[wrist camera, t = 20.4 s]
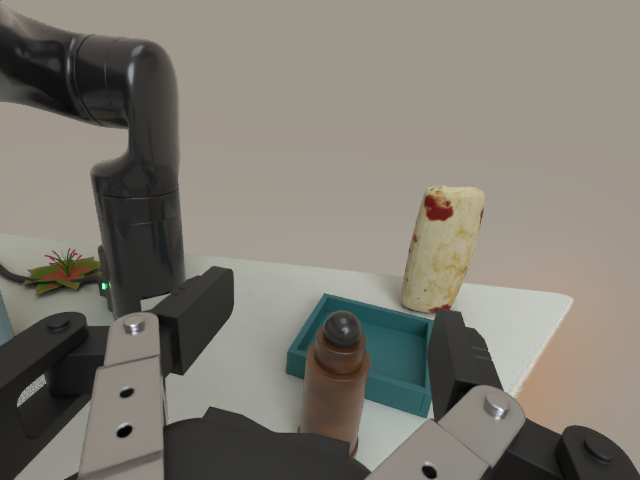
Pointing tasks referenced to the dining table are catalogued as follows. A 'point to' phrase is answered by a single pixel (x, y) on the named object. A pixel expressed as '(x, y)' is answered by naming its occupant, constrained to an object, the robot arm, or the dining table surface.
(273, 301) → the dining table surface
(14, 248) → the dining table surface
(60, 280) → the lily flower
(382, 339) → the tray
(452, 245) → the food model
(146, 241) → the robot arm
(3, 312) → the bottle
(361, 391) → the pepper mill
